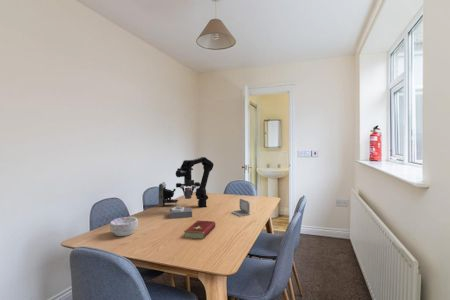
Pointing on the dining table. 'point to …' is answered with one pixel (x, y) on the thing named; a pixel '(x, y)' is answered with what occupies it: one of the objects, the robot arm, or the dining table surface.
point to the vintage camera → (165, 195)
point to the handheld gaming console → (243, 208)
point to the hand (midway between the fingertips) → (188, 195)
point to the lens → (187, 193)
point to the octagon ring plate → (180, 212)
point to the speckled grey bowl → (123, 226)
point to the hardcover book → (200, 229)
